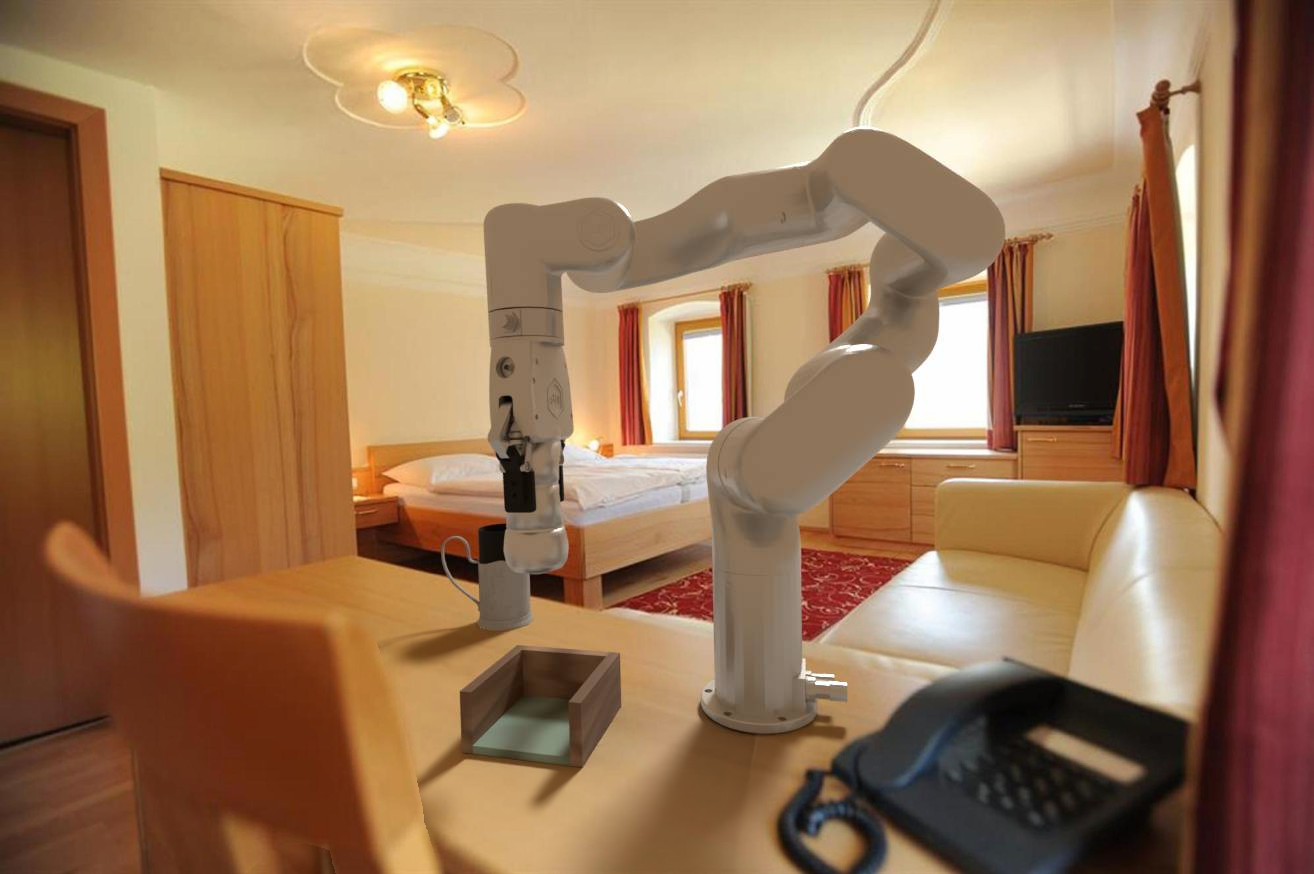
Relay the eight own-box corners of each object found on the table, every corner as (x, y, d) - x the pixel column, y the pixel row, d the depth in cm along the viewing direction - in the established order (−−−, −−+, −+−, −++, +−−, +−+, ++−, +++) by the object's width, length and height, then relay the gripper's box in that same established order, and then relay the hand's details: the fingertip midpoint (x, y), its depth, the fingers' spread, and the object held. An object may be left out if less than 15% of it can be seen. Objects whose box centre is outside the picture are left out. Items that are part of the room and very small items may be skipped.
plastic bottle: (555, 581, 59) (545, 376, 59) (492, 580, 61) (481, 380, 60) (579, 565, 66) (570, 380, 65) (521, 564, 67) (512, 383, 67)
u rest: (621, 706, 67) (620, 652, 67) (582, 767, 56) (580, 703, 56) (518, 696, 70) (517, 644, 70) (461, 752, 59) (459, 691, 59)
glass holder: (527, 630, 92) (524, 532, 92) (433, 632, 92) (430, 534, 92) (538, 611, 101) (536, 521, 101) (453, 613, 101) (450, 523, 101)
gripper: (518, 317, 53) (529, 522, 54) (592, 338, 70) (599, 495, 70) (444, 324, 55) (455, 521, 56) (532, 343, 72) (540, 495, 72)
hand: (536, 505), depth 63 cm, fingers closed on plastic bottle, 5 cm apart
